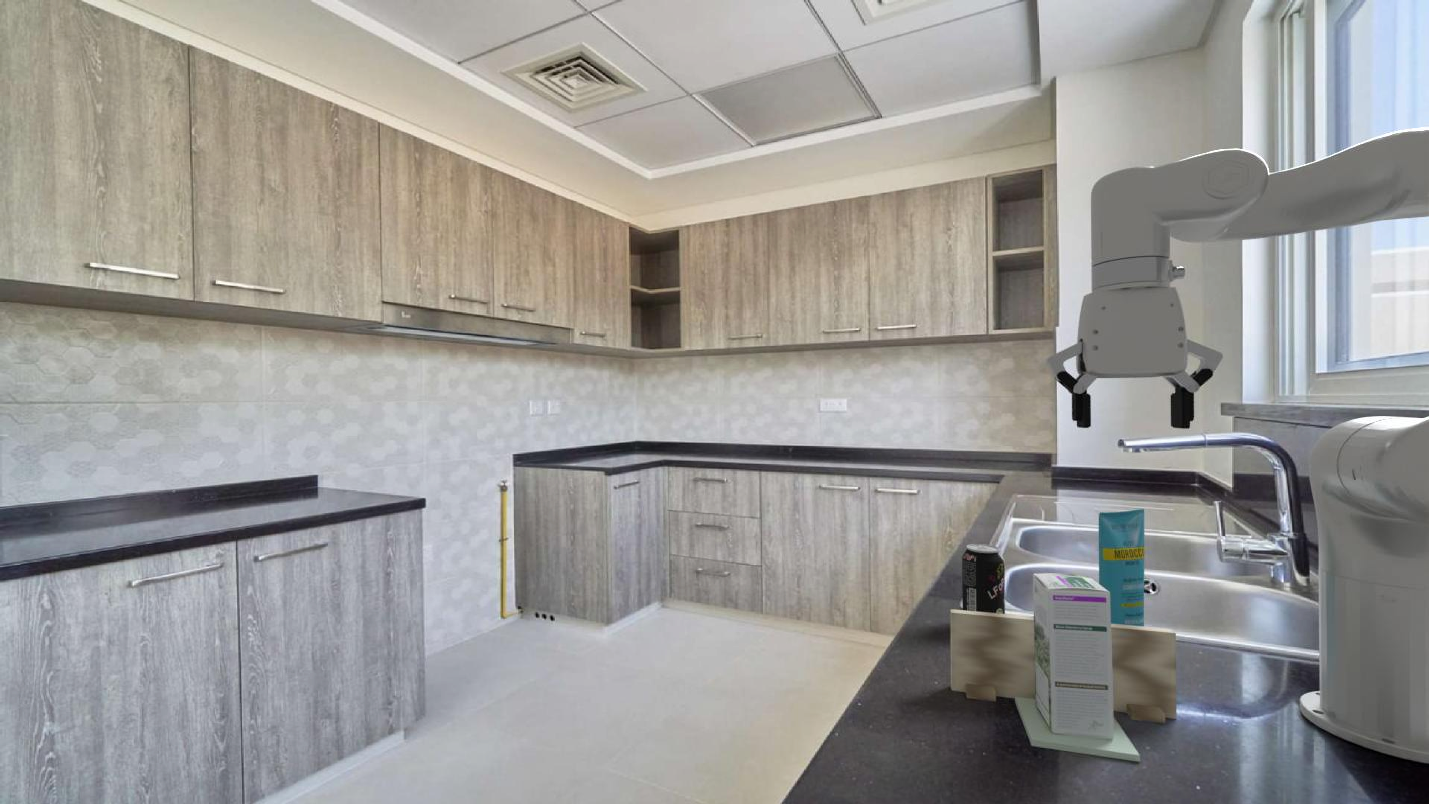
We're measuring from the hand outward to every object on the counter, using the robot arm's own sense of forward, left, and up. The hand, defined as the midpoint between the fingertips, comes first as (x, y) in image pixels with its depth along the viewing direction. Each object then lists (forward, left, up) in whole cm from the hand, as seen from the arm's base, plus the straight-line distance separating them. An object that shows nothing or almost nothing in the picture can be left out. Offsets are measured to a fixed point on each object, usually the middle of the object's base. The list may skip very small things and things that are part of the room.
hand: (1130, 427), depth 70 cm
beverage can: (+14, -16, -31) cm, 37 cm away
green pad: (+9, +12, -30) cm, 34 cm away
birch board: (+9, +6, -30) cm, 32 cm away
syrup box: (+9, +11, -30) cm, 33 cm away
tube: (-2, -10, -31) cm, 32 cm away
